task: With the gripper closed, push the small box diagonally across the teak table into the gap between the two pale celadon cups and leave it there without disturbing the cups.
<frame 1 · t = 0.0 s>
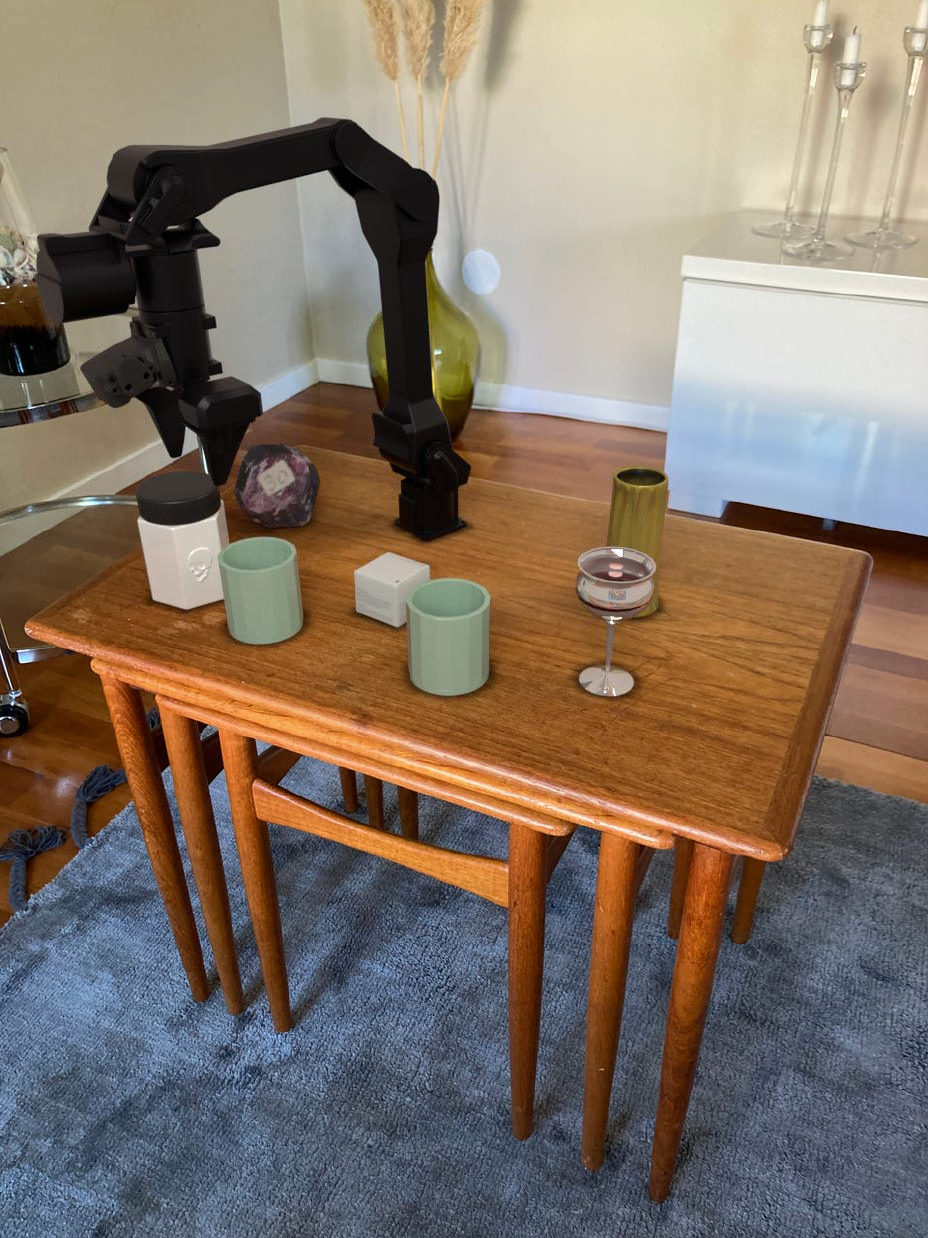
hand: (197, 470, 93), 15 cm above the table, tool pointing down, fingers open, 9 cm apart
cup 1: (266, 624, 96), on the table
jar: (194, 591, 103), on the table
wineglass: (606, 682, 88), on the table
vase: (628, 605, 100), on the table
small box: (393, 611, 99), on the table
mineral specimen: (281, 522, 117), on the table
cup 2: (449, 672, 89), on the table
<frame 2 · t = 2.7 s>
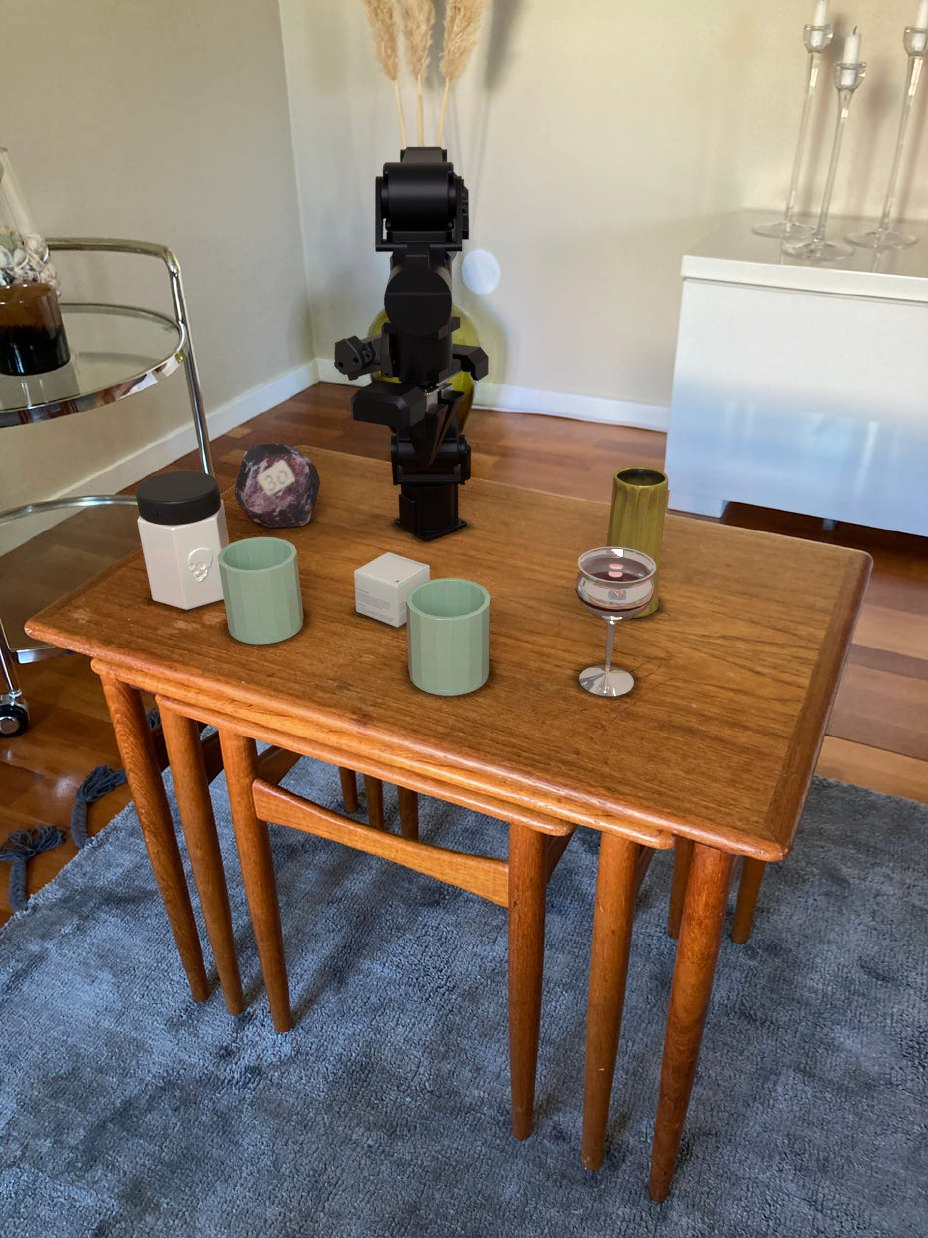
hand: (425, 464, 98), 13 cm above the table, tool pointing down, fingers closed
nothing on the table moved.
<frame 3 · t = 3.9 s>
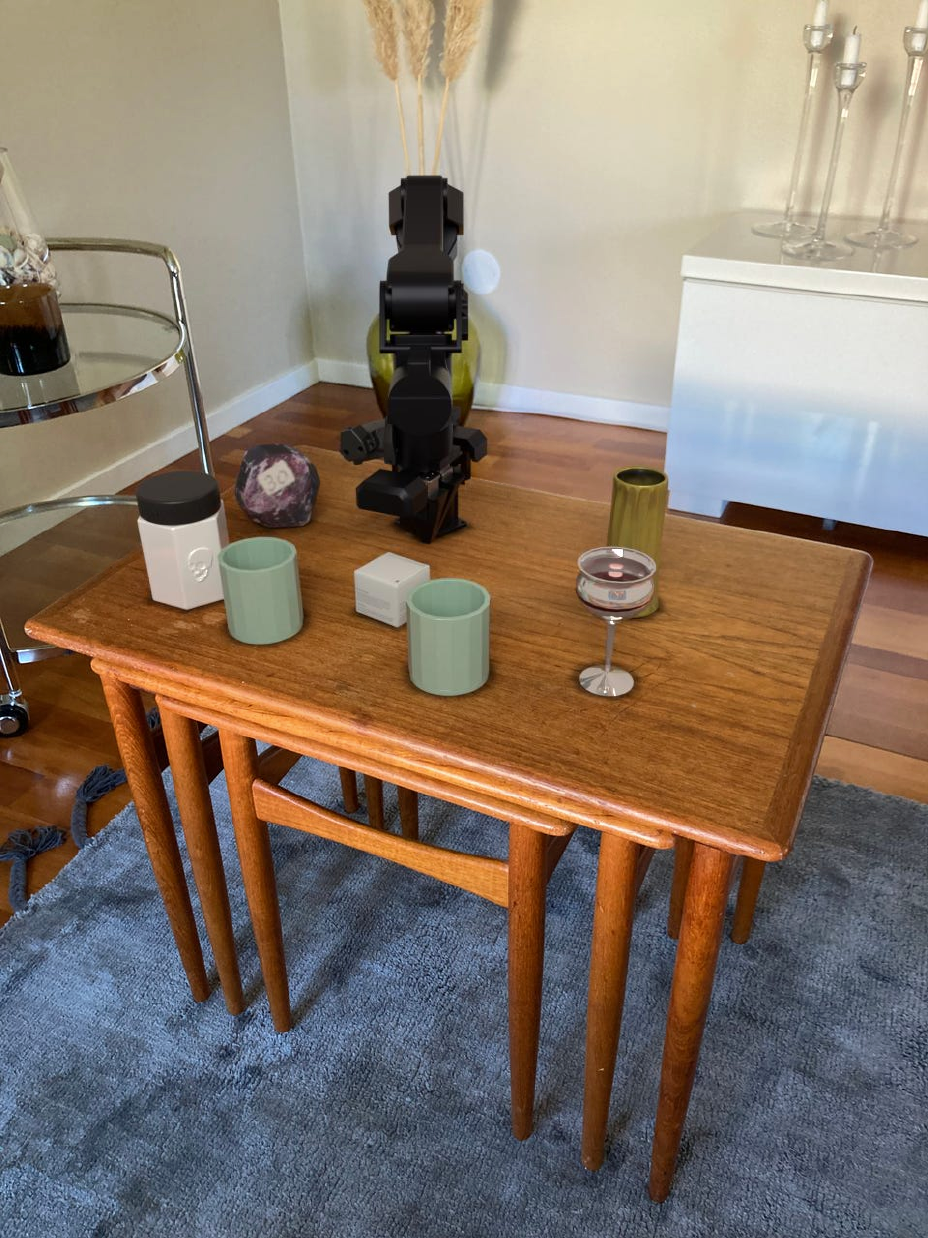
hand: (427, 542, 103), 4 cm above the table, tool pointing down, fingers closed
nothing on the table moved.
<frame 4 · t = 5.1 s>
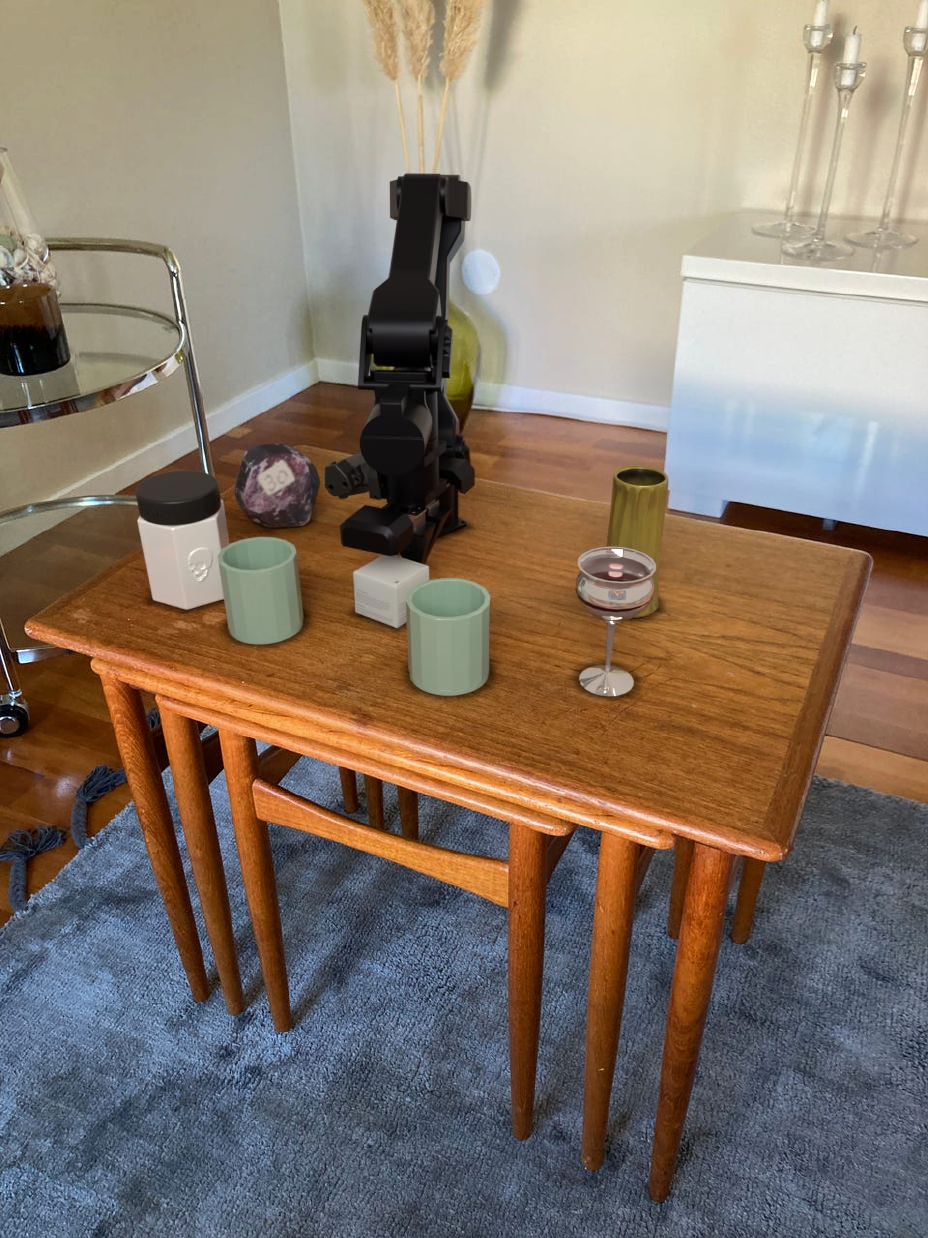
hand: (414, 575, 102), 2 cm above the table, tool pointing down, fingers closed
small box: (392, 611, 99), on the table, touching gripper
everything else where it was.
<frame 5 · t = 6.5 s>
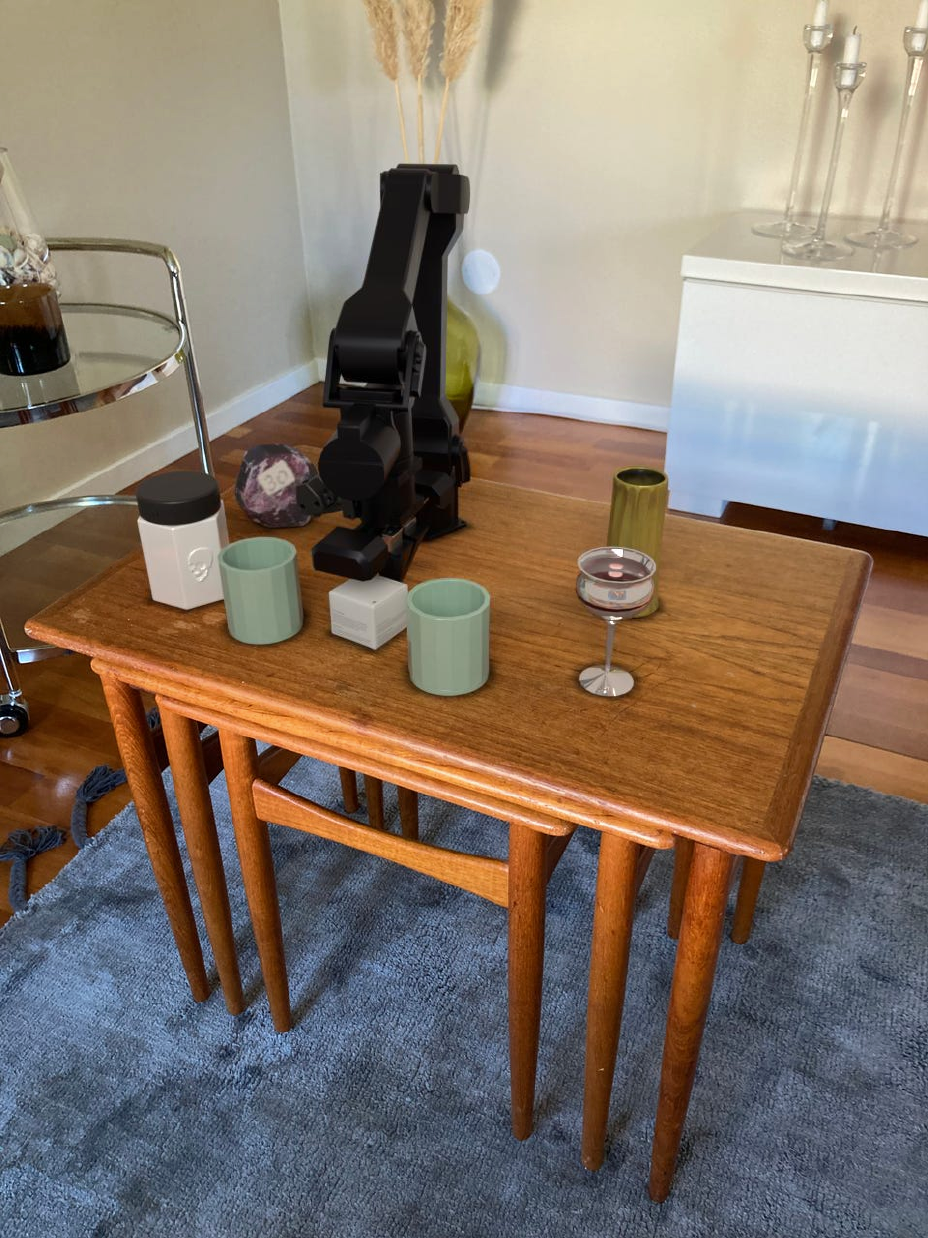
hand: (392, 593, 98), 2 cm above the table, tool pointing down, fingers closed
small box: (370, 632, 95), on the table, touching gripper
everything else where it was.
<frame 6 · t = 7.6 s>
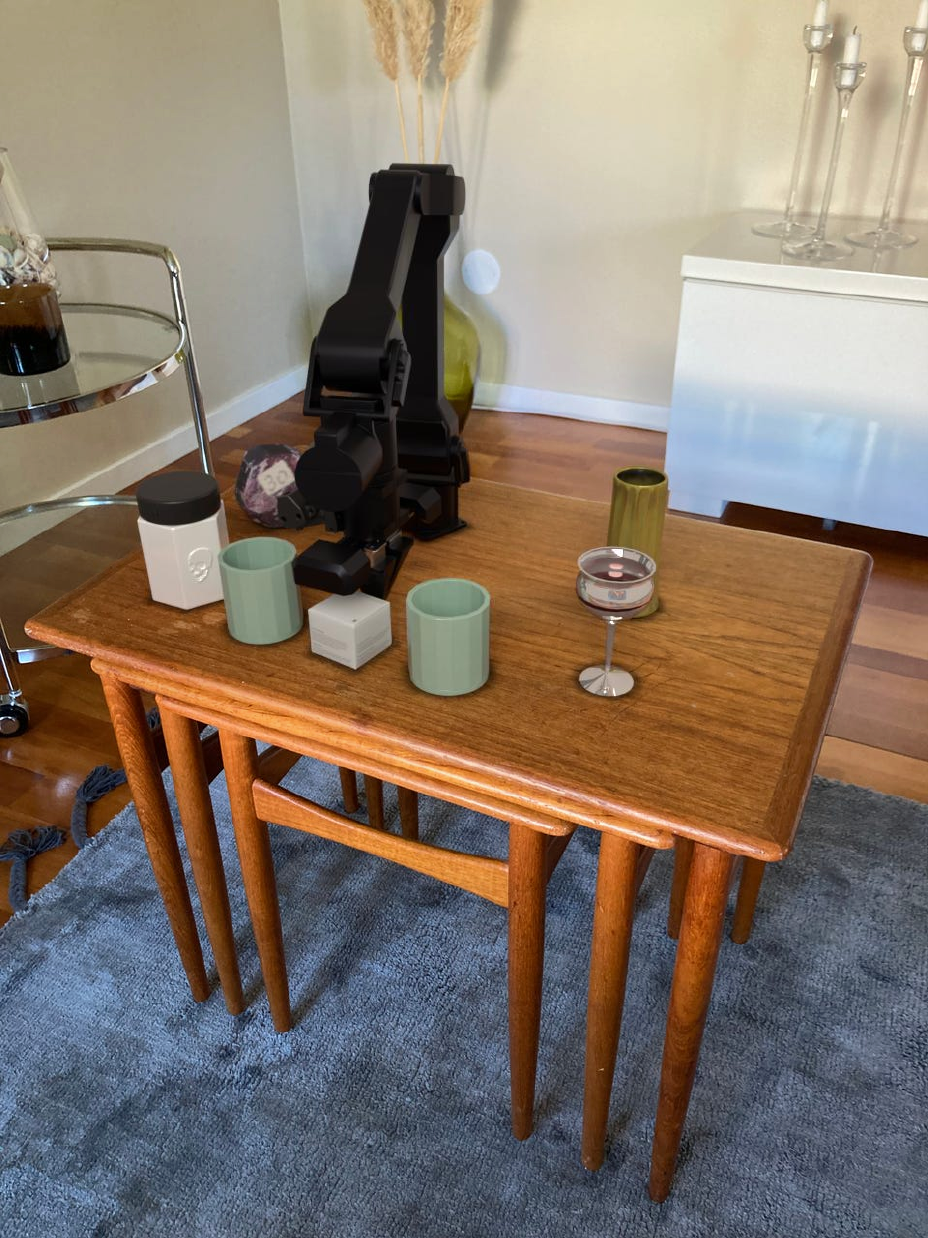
hand: (376, 610, 95), 2 cm above the table, tool pointing down, fingers closed
small box: (352, 650, 93), on the table, touching gripper
everything else where it was.
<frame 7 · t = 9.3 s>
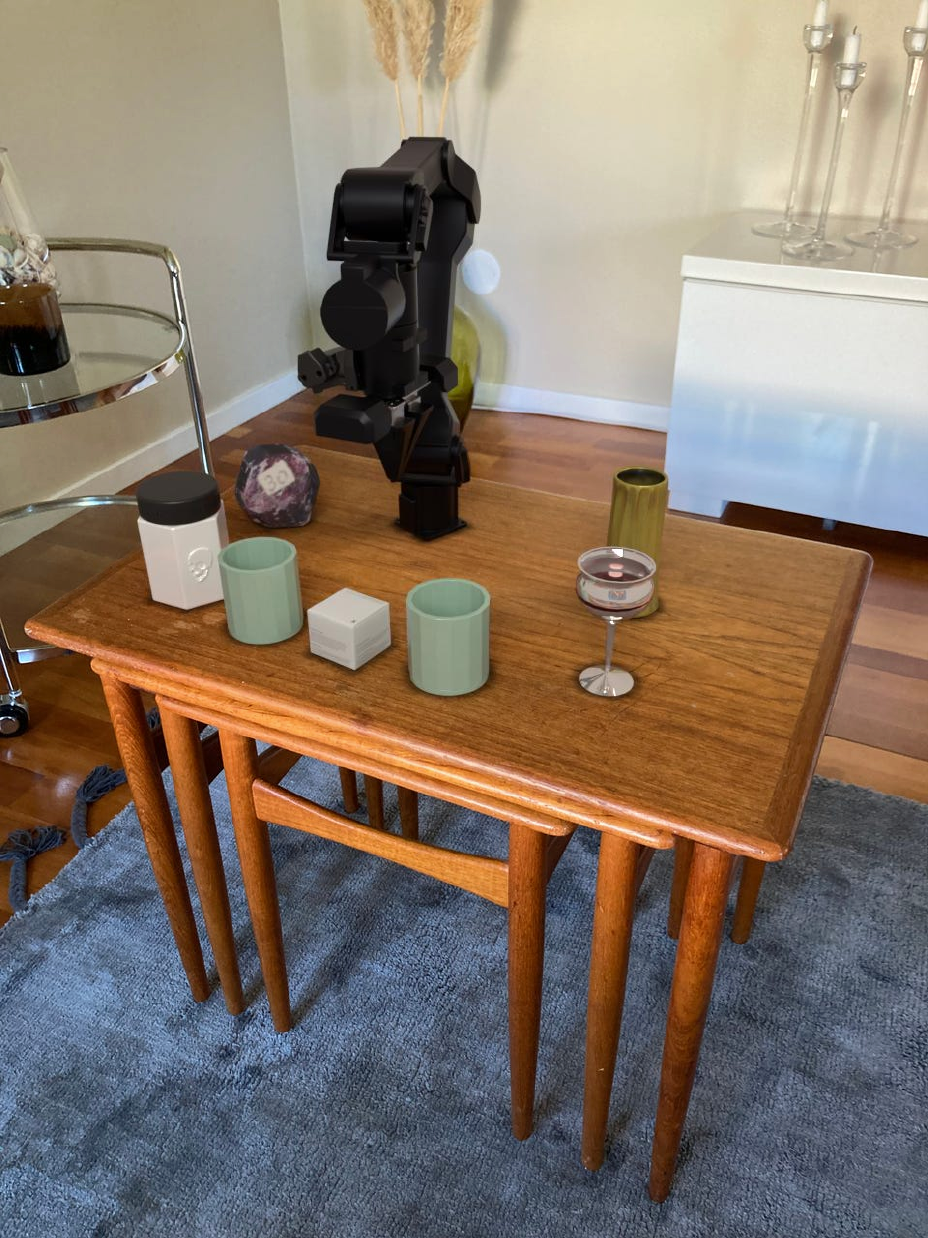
hand: (393, 478, 96), 13 cm above the table, tool pointing down, fingers closed
small box: (351, 651, 92), on the table
everything else where it was.
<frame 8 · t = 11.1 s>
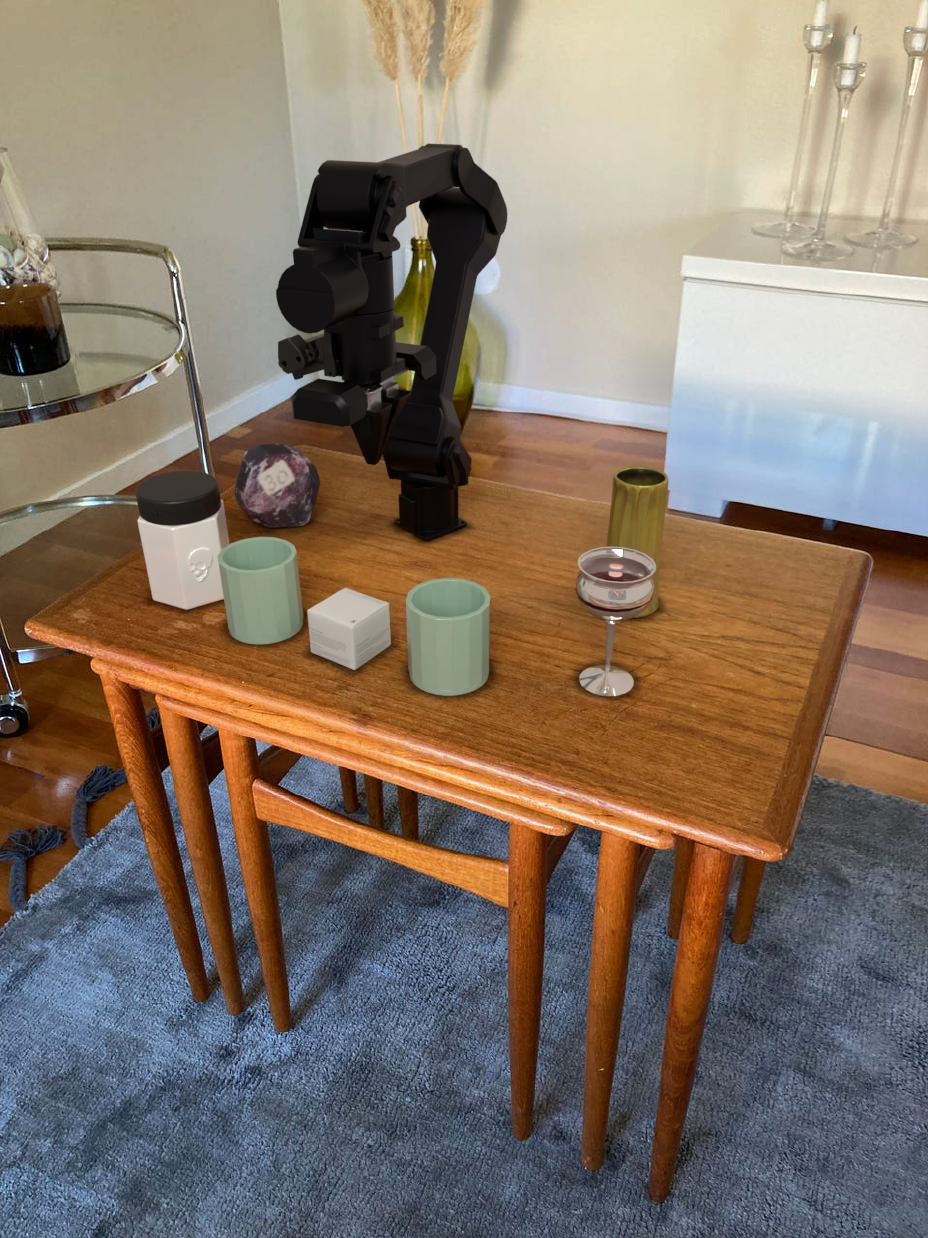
hand: (372, 463, 99), 13 cm above the table, tool pointing down, fingers closed
nothing on the table moved.
at the end: small box 0.4 cm from the target spot, on the table; cup 2 moved 0.0 cm from its start; cup 1 moved 0.0 cm from its start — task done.
